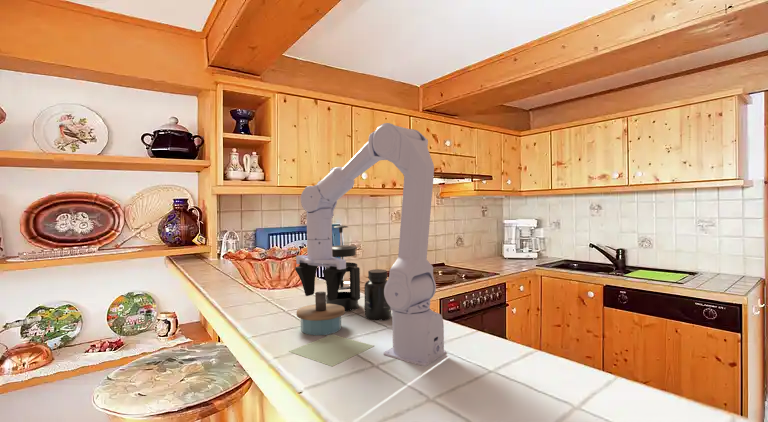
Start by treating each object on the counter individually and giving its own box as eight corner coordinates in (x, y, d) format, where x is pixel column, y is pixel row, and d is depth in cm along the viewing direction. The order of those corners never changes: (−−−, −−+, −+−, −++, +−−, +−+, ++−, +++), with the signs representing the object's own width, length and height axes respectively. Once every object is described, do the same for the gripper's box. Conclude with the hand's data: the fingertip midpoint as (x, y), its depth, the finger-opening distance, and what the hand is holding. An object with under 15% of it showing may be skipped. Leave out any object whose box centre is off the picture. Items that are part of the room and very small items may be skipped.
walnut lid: (354, 310, 92) (353, 290, 92) (322, 323, 83) (322, 300, 82) (319, 304, 98) (319, 285, 98) (286, 315, 89) (285, 294, 89)
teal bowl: (348, 328, 92) (348, 311, 91) (322, 339, 84) (321, 321, 84) (320, 322, 97) (320, 306, 97) (293, 332, 89) (292, 315, 89)
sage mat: (374, 347, 79) (374, 345, 79) (332, 367, 69) (332, 366, 69) (332, 335, 86) (332, 334, 86) (288, 352, 77) (288, 351, 77)
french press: (316, 307, 110) (315, 226, 109) (341, 300, 117) (340, 224, 116) (345, 314, 102) (344, 227, 101) (370, 307, 109) (368, 225, 108)
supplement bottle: (359, 319, 98) (358, 272, 98) (373, 312, 104) (372, 267, 104) (383, 323, 95) (383, 273, 94) (396, 315, 101) (395, 269, 100)
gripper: (285, 238, 91) (286, 296, 91) (329, 242, 82) (330, 305, 83) (308, 236, 97) (309, 290, 97) (351, 239, 88) (352, 298, 88)
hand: (320, 297), depth 90 cm, fingers open, 7 cm apart
